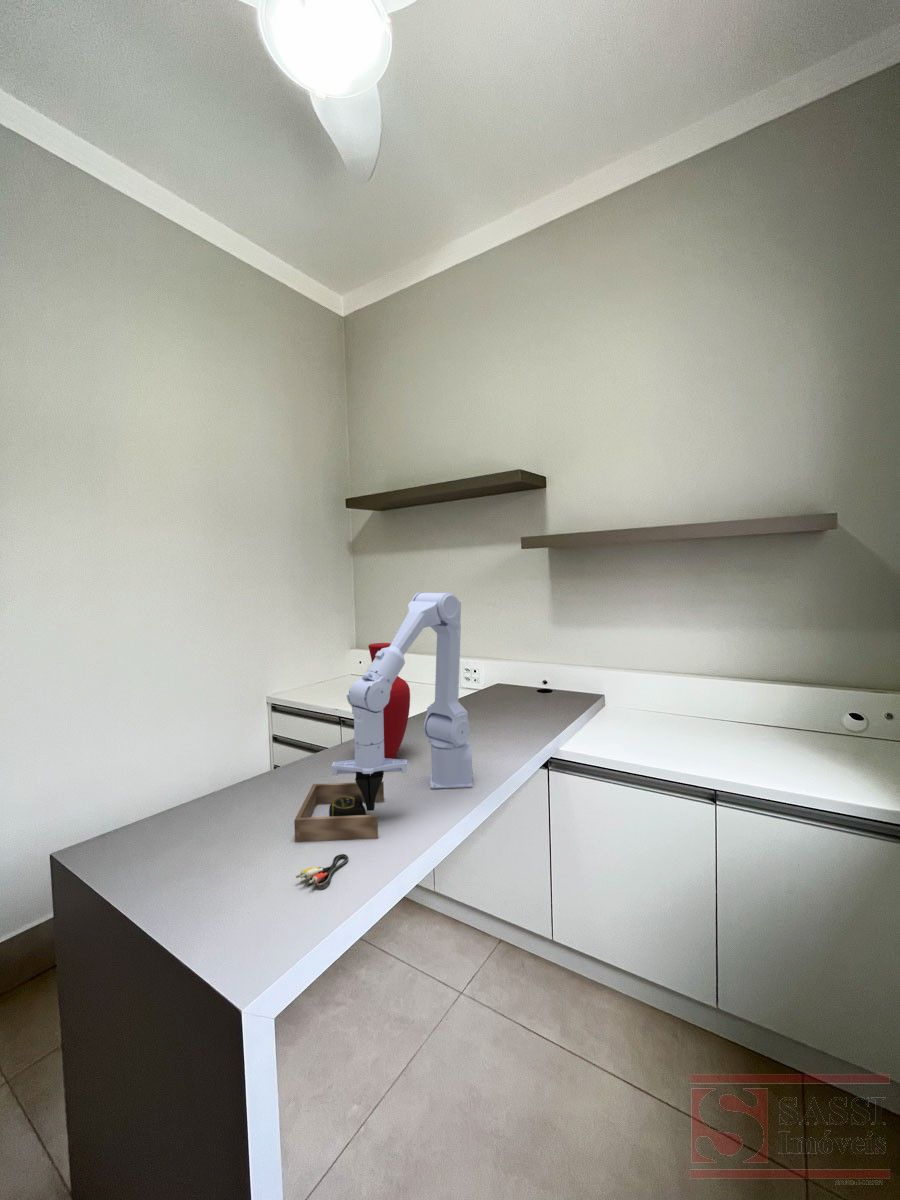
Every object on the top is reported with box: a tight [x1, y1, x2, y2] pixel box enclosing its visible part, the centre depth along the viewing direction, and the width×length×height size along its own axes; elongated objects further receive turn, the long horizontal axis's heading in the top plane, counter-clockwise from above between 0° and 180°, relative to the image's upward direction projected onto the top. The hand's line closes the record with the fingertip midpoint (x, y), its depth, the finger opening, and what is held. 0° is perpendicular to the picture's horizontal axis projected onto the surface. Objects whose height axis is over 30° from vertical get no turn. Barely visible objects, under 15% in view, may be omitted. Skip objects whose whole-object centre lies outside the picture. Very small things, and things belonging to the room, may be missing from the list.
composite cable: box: [295, 853, 349, 891], centre depth 80 cm, size 10×5×2 cm, turn 145°
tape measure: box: [328, 795, 367, 817], centre depth 98 cm, size 7×7×4 cm
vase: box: [368, 642, 411, 759], centre depth 130 cm, size 15×15×30 cm
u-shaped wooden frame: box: [293, 780, 385, 843], centre depth 98 cm, size 15×16×4 cm
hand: (370, 808), depth 98 cm, fingers closed
